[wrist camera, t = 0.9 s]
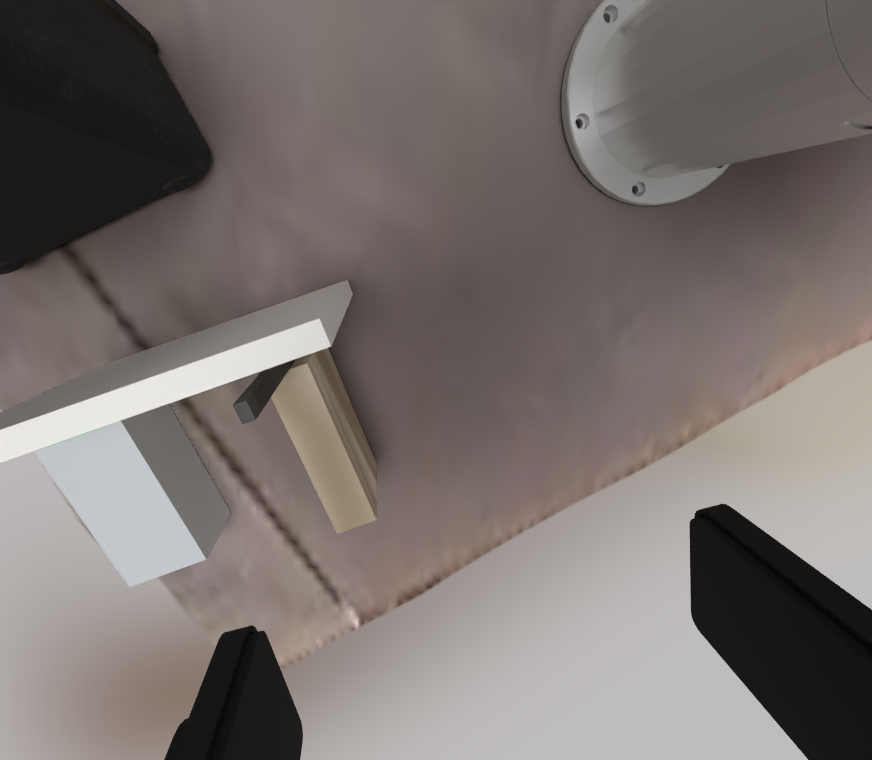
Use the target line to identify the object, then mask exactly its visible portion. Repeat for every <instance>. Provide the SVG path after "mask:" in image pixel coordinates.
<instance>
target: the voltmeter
mask: <svg viewBox="0 0 872 760" xmlns="http://www.w3.org/2000/svg"><path fill="white" fill-rule="evenodd" d="M157 51H158V47H157V45H156V43H155V41H154V39H153V37H152V35H151V33H150V32H149V31H148V30H147V29H146V28H145V27H144V26H142V25H141V24H140V23H139V22H138V21H137V20H136V19H135V18H134V17H133V16H132V15H130V14H129V13H128V12H127V11H126V10H125V9H124V8H123V7H122V6H121V5H120V4H118V3H117V2H116V1H115V0H0V274H6V273H10V272H13V271H15V270H17V269H19V268H22V267H23V266H24V264H25V263H26V262H27V261H29V260H31V259H33V258H35V257H37V256H39V255H42V254H44V253H46V252H48V251H50V250H52V249H54V248H56V247H58V246H60V245H62V244H64V243H66V242H68V241H70V240H72V239H75V238H77V237H79V236H81V235H83V234H85V233H87V232H89V231H91V230H93V229H95V228H97V227H99V226H101V225H103V224H105V223H108V222H110V221H112V220H114V219H116V218H118V217H120V216H122V215H124V214H126V213H128V212H130V211H132V210H134V209H136V208H138V207H141V206H143V205H145V204H147V203H149V202H151V201H153V200H155V199H157V198H159V197H161V196H163V195H165V194H167V193H169V192H174V191H180V190H182V189H184V188H187V187H188V186H189V185H191V184H192V183H193V181H194V180H196V179H197V178H198V177H200V176H201V175H202V174H203V173H204V172H205V171H206V169H207V167H208V165H209V161H210V151H209V149H208V146H207V144H206V143H205V141H204V139H203V137H202V135H201V134H200V132H199V130H198V128H197V127H196V125H195V123H194V121H193V120H192V118H191V116H190V114H189V112H188V111H187V109H186V107H185V105H184V104H183V102H182V100H181V98H180V96H179V95H178V93H177V91H176V89H175V88H174V86H173V84H172V82H171V80H170V79H169V77H168V75H167V73H166V72H165V70H164V68H163V66H162V65H161V63H160V61H159V59H158V57H157V56H156V54H155V53H156V52H157Z"/></svg>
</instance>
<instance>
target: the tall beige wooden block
mask: <svg viewBox="0 0 872 760" xmlns="http://www.w3.org/2000/svg"><path fill="white" fill-rule="evenodd" d="M270 398H272V400H273V403H274V405H275V407H276V409H277V411H278V413H279V415H280V417H281V419H282V421H283V423H284V425H285V427H286V429H287V431H288V433H289V435H290V438H291V440H292V442H293V444H294V446H295V448H296V450H297V452H298V454H299V456H300V458H301V460H302V462H303V464H304V466H305V468H306V470H307V473H308V475H309V477H310V479H311V481H312V483H313V485H314V487H315V489H316V491H317V493H318V495H319V497H320V499H321V501H322V503H323V506H324V508H325V510H326V512H327V514H328V516H329V518H330V520H331V522H332V524H333V526H334V528H335V530H336V532H337V534H339V533H342V532H345V531H347V530H350V529H353V528H356V527H358V526H361V525H364V524H367V523H370V522H372V521H375V520H377V463H376V460H375V458H374V456H373V453H372V451H371V449H370V446H369V444H368V442H367V439H366V437H365V434H364V432H363V430H362V427H361V425H360V423H359V420H358V418H357V415H356V413H355V411H354V408H353V406H352V404H351V401H350V399H349V397H348V394H347V392H346V389H345V387H344V385H343V382H342V380H341V378H340V375H339V373H338V370H337V368H336V366H335V363H334V361H333V359H332V356H331V354H330V352H329V349H328V348H326V349H323V350H320V351H317V352H314V353H311V354H309V355H306V356H303V357H300V358H297V359H294V360H291V361H289V362H286V363H283V364H280V365H277V366H274V367H272V368H269V369H266V370H263V371H262V372H261V373H260V374H259V375H258V377H257V378H256V379H255V380H254V381H253V382H252V383H251V385H250V386H249V387H248V388H247V389H246V390H245V392H244V393H243V394H242V395H241V396H240V397H239V398H238V400H237V401H236V402H235V403H234V404H233V407H234V409H235V410H236V412H237V414H238V416H239V418H240V420H241V422H242V424H245V423H248V422H251V421H253V420H256V419H257V417H258V416H259V414H260V413H261V411H262V410H263V408H264V407H265V405H266V404H267V402H268V401H269V399H270Z"/></svg>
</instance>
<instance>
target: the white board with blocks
mask: <svg viewBox="0 0 872 760" xmlns="http://www.w3.org/2000/svg"><path fill="white" fill-rule="evenodd" d="M352 296H353V293H352V290H351V287H350V285H349V282H348V280H345V281H342V282H339V283H336V284H333V285H330V286H328V287H325V288H322V289H319V290H316V291H313V292H310V293H307V294H305V295H302V296H299V297H296V298H293V299H290V300H287V301H284V302H282V303H279V304H276V305H273V306H270V307H267V308H264V309H262V310H259V311H256V312H253V313H250V314H247V315H244V316H241V317H239V318H236V319H233V320H230V321H227V322H224V323H221V324H218V325H216V326H213V327H210V328H207V329H204V330H201V331H198V332H195V333H193V334H190V335H187V336H184V337H181V338H178V339H175V340H172V341H170V342H167V343H164V344H161V345H158V346H155V347H152V348H150V349H147V350H144V351H141V352H138V353H135V354H132V355H129V356H127V357H124V358H121V359H118V360H115V361H112V362H109V363H107V364H105V365H103V366H101V367H98V368H96V369H94V370H92V371H90V372H88V373H85V374H83V375H81V376H79V377H77V378H74V379H72V380H70V381H68V382H66V383H64V384H61V385H59V386H57V387H55V388H53V389H51V390H48V391H46V392H44V393H42V394H40V395H38V396H35V397H33V398H31V399H29V400H27V401H25V402H22V403H20V404H18V405H16V406H14V407H11V408H9V409H7V410H5V411H3V412H1V413H0V463H1V462H4V461H7V460H10V459H12V458H15V457H18V456H21V455H24V454H27V453H29V452H32V451H33V452H34V453H35V454H36V456H37V457H38V459H39V460H40V461H41V463H42V464H43V466H44V467H45V468H46V470H47V471H48V473H49V474H50V476H51V477H52V478H53V480H54V481H55V483H56V484H57V485H58V487H59V488H60V490H61V491H62V492H63V494H64V495H65V497H66V498H67V500H68V501H69V502H70V504H71V505H72V507H73V508H74V509H75V511H76V512H77V514H78V515H79V516H80V518H81V519H82V521H83V522H84V523H85V525H86V526H87V528H88V529H89V531H90V532H91V533H92V535H93V536H94V538H95V539H96V540H97V542H98V543H99V545H100V546H101V547H102V549H103V550H104V552H105V553H106V555H107V556H108V557H109V559H110V560H111V562H112V563H113V564H114V566H115V567H116V569H117V570H118V571H119V573H120V574H121V576H122V577H123V578H124V580H125V581H126V583H127V584H128V586H129V587H131V586H134V585H137V584H139V583H142V582H145V581H148V580H150V579H153V578H156V577H159V576H162V575H165V574H167V573H170V572H173V571H176V570H178V569H181V568H184V567H187V566H190V565H192V564H195V563H198V562H201V561H203V560H206V559H207V557H208V556H209V554H210V552H211V550H212V548H213V546H214V544H215V542H216V541H217V539H218V537H219V535H220V533H221V531H222V529H223V527H224V525H225V524H226V522H227V520H228V518H229V516H230V514H231V512H230V510H229V509H228V507H227V505H226V503H225V502H224V500H223V498H222V496H221V495H220V493H219V491H218V489H217V488H216V486H215V484H214V482H213V481H212V479H211V477H210V475H209V474H208V472H207V470H206V468H205V467H204V465H203V463H202V461H201V460H200V458H199V456H198V454H197V453H196V451H195V449H194V447H193V446H192V444H191V442H190V440H189V439H188V437H187V435H186V433H185V432H184V430H183V428H182V426H181V425H180V423H179V421H178V419H177V418H176V416H175V414H174V412H173V411H172V409H171V407H170V405H169V403H172V402H175V401H178V400H180V399H183V398H186V397H189V396H192V395H195V394H198V393H200V392H203V391H206V390H209V389H212V388H215V387H217V386H220V385H223V384H226V383H229V382H232V381H235V380H237V379H240V378H243V377H246V376H249V375H252V374H254V373H257V372H260V371H263V370H266V369H269V368H272V367H274V366H277V365H280V364H283V363H286V362H289V361H291V360H294V359H297V358H300V357H303V356H306V355H309V354H311V353H314V352H317V351H320V350H323V349H326V348H328V347H331V346H332V344H333V341H334V339H335V337H336V334H337V332H338V329H339V327H340V325H341V322H342V320H343V318H344V315H345V313H346V310H347V308H348V306H349V303H350V301H351V298H352Z"/></svg>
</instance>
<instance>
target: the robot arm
mask: <svg viewBox="0 0 872 760" xmlns="http://www.w3.org/2000/svg"><path fill="white" fill-rule="evenodd" d="M604 18H606V21H607V22H606V21H605V20H604ZM562 119H563V125H564V131H565V136H566V139H567V142H568V145H569V148H570V151H571V153H572V155H573V157H574V159H575V161H576V162H577V164H578V166H579V168H580V170H581V171H582V172H583V173H584V175H585V176H586V177H587V178H588V179H589V180H590V181H591V183H592V184H593V185H594V186H596V187H597V188H598V189H600V190H601V191H602V192H604V193H605V194H606V195H608V196H610V197H612V198H615V199H617V200H619V201H621V202H624V203H629V204H634V205H639V206H643V205H660V204H666V203H673V202H676V201H679V200H682V199H685V198H687V197H690V196H692V195H694V194H695V193H697V192H699V191H701V190H702V189H704V188H706V187H707V186H709V185H710V184H711V183H712V182H713V181H715V180H716V179H717V178H718V177H719V176H720V175H722V174H723V173H724V171H725V170H726V169H727V168H728V167H729V166H730V164H732V163H737V162H742V161H746V160H751V159H756V158H760V157H765V156H770V155H774V154H779V153H784V152H789V151H793V150H798V149H803V148H807V147H812V146H817V145H821V144H826V143H831V142H835V141H840V140H845V139H849V138H854V137H859V136H863V135H868V134H872V0H603V1H602V2H601V3H600V4H599V5H598V6H597V8H596V9H595V10H594V12H593V13H592V14H591V16H590V17H589V18H588V20H587V21H586V22H585V24H584V25H583V27H582V29H581V31H580V33H579V35H578V37H577V38H576V40H575V42H574V44H573V47H572V50H571V53H570V56H569V59H568V62H567V65H566V68H565V74H564V80H563V86H562ZM575 121H578V122H579V124H580V125H579V129H578V128H577V127H576V124H575ZM632 187H633V188H634V193H633V192H632ZM690 571H691V572H690V574H691V575H690V576H691V614H692V618H693V621H694V623H695V625H696V627H697V628H698V630H699V631H700V633H701V634H702V635H703V636H704V637H705V638H706V639H707V641H708V642H709V643H710V644H711V646H712V647H713V648H714V649H715V650H716V651H717V653H718V654H719V655H720V656H721V657H722V658H723V660H724V661H725V662H726V663H727V664H728V666H729V667H730V668H731V669H732V670H733V671H734V673H735V674H736V675H737V676H738V677H739V678H740V680H741V681H742V682H743V683H744V684H745V685H746V687H747V688H748V689H749V690H750V691H751V692H752V694H753V695H754V696H755V697H756V699H757V700H758V701H759V702H760V703H761V704H762V706H763V707H764V708H765V709H766V710H767V711H768V712H769V714H770V715H771V716H772V717H773V719H774V720H775V721H776V722H777V723H778V724H779V726H780V727H781V728H782V729H783V730H784V731H785V733H786V734H787V735H788V736H789V737H790V739H791V740H792V741H793V742H794V743H795V744H796V745H797V747H798V748H799V749H800V750H801V751H802V753H803V754H804V755H805V756H806V757H807V759H808V760H872V610H871V609H870V608H868V607H867V606H866V605H864V604H863V603H861V602H860V601H859V600H857V599H856V598H855V597H853V596H852V595H851V594H849V593H848V592H846V591H845V590H844V589H842V588H841V587H840V586H838V585H837V584H835V583H834V582H832V581H831V580H830V579H829V578H827V577H826V576H824V575H823V574H822V573H820V572H819V571H818V570H816V569H815V568H814V567H812V566H811V565H809V564H808V563H807V562H805V561H804V560H802V559H801V558H800V557H798V556H797V555H796V554H794V553H793V552H792V551H790V550H789V549H787V548H786V547H785V546H783V545H782V544H781V543H779V542H778V541H776V540H775V539H774V538H772V537H771V536H770V535H768V534H767V533H765V532H764V531H762V530H761V529H760V528H759V527H757V526H756V525H754V524H753V523H752V522H750V521H749V520H748V519H746V518H745V517H743V516H742V515H741V514H739V513H738V512H737V511H735V510H734V509H733V508H731V507H730V506H728V505H726V504H720V505H716V506H712V507H708V508H704V509H700V510H698V511H696V513H695V518H694V519H692V520H691V521H690ZM302 739H303V732H302V724H301V720H300V718H299V715H298V713H297V710H296V707H295V705H294V702H293V700H292V697H291V695H290V692H289V690H288V687H287V685H286V682H285V680H284V677H283V675H282V672H281V670H280V667H279V665H278V662H277V660H276V657H275V655H274V652H273V650H272V647H271V645H270V642H269V640H268V637H267V635H266V633H265V632H264V631H259V632H258V631H257V630H256V628H255V627H254V626H248V627H244V628H240V629H236V630H233V631H229V632H225V633H223V634H222V635H221V637H220V639H219V641H218V643H217V646H216V649H215V651H214V654H213V656H212V659H211V662H210V664H209V667H208V669H207V672H206V675H205V677H204V680H203V682H202V685H201V687H200V690H199V693H198V696H197V698H196V701H195V703H194V706H193V708H192V711H191V713H190V716H189V718H187V719H185V720H184V721H183V722H182V723H181V724H180V725H179V727H178V729H177V731H176V733H175V735H174V737H173V739H172V742H171V744H170V747H169V749H168V752H167V754H166V757H165V760H300V756H301V748H302Z"/></svg>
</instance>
